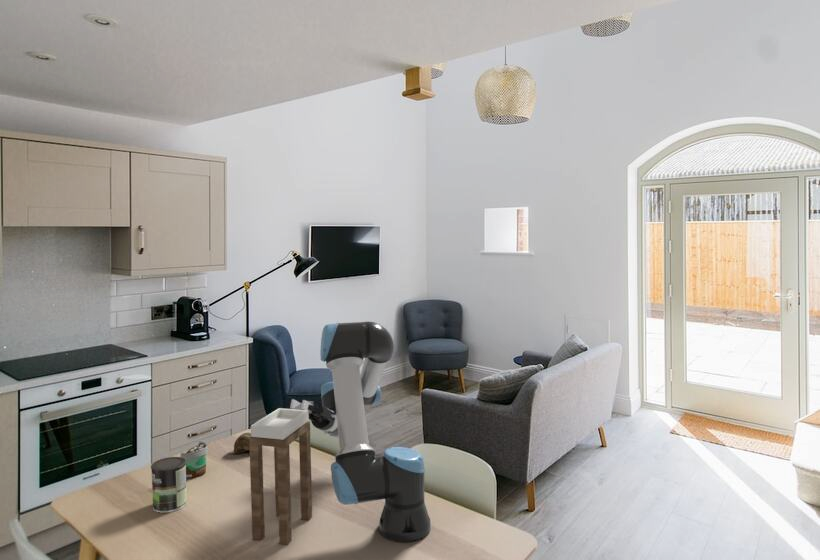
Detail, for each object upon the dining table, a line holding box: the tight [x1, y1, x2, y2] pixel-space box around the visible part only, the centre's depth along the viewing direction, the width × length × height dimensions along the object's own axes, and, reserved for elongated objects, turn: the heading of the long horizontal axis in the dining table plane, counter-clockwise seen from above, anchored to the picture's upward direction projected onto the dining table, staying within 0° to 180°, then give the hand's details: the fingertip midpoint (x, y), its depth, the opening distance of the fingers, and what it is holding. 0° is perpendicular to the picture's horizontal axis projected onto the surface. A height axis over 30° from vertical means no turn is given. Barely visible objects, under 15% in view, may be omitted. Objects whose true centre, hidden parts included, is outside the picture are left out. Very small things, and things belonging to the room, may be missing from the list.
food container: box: [179, 441, 209, 480], centre depth 195 cm, size 12×6×10 cm, turn 168°
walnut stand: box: [249, 421, 313, 546], centre depth 157 cm, size 16×11×30 cm
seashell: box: [232, 431, 251, 454], centre depth 216 cm, size 11×9×8 cm
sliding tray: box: [250, 400, 314, 440], centre depth 161 cm, size 27×10×3 cm, turn 165°
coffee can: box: [150, 456, 188, 514], centre depth 172 cm, size 10×10×14 cm
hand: (297, 403), depth 166 cm, fingers closed on sliding tray, 3 cm apart
